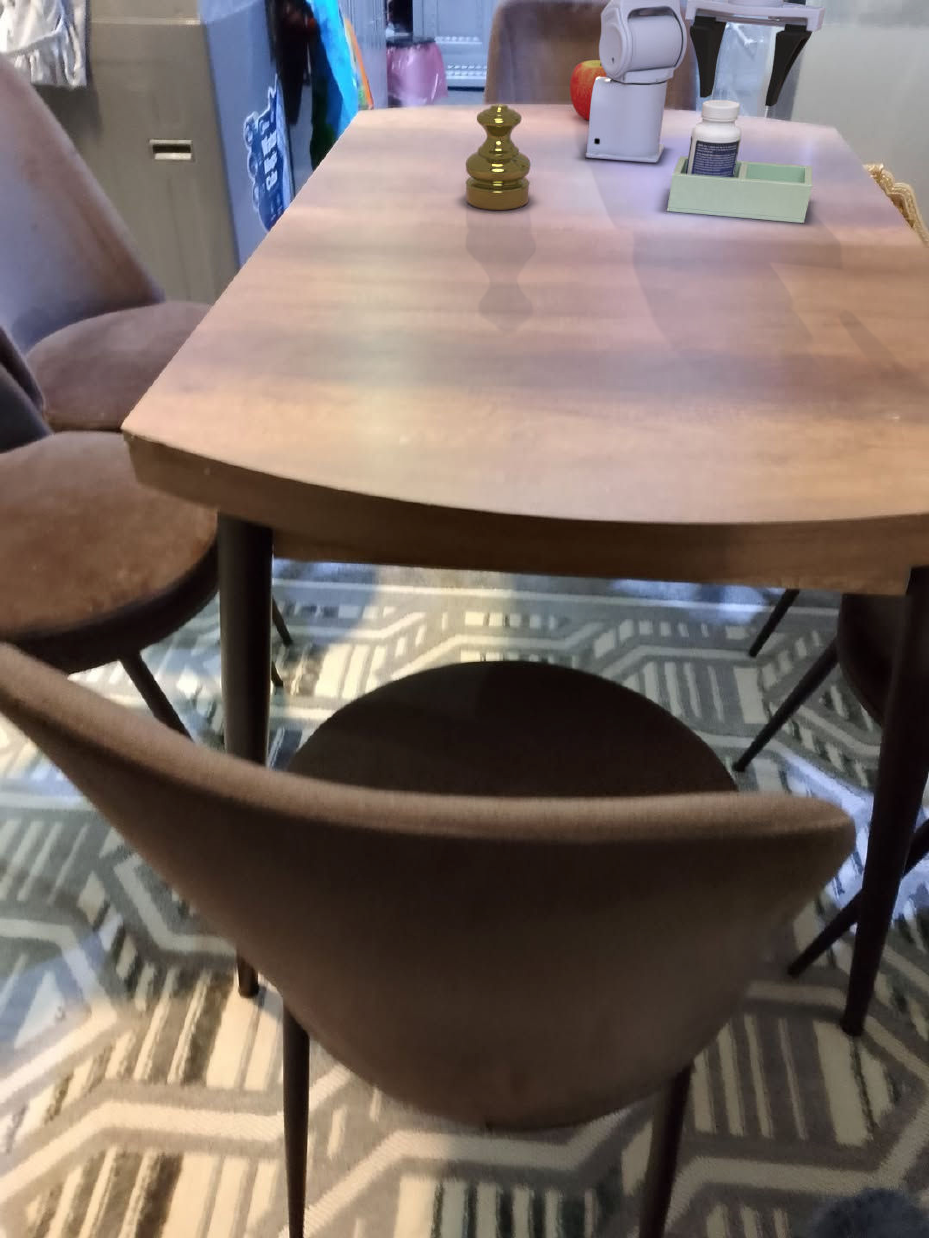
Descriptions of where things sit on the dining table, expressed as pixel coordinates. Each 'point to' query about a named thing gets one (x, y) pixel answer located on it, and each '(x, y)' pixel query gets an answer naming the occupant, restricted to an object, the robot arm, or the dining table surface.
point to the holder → (744, 191)
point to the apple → (584, 85)
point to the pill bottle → (715, 140)
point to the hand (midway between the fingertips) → (737, 100)
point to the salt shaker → (498, 164)
